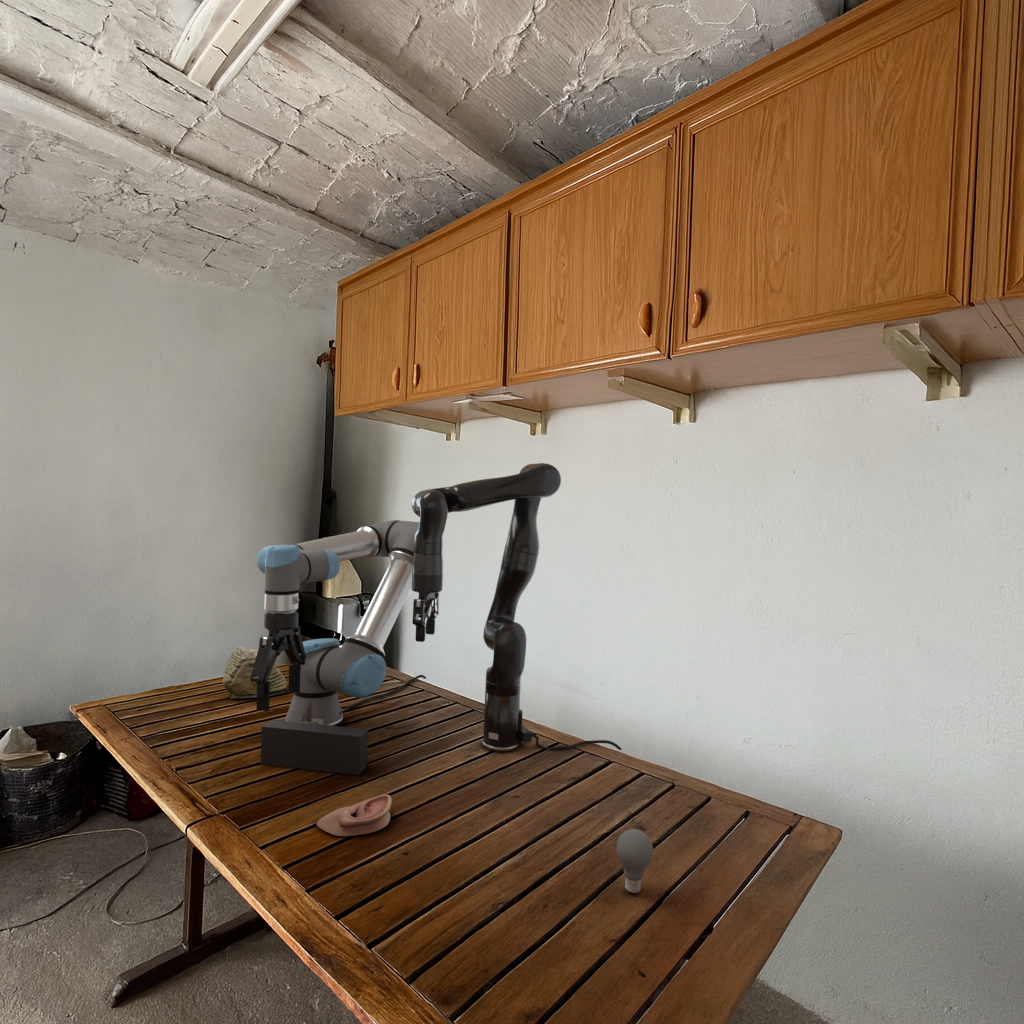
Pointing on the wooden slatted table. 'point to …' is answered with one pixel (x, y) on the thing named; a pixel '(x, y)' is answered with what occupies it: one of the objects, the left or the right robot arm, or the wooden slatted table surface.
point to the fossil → (248, 675)
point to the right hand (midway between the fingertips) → (425, 637)
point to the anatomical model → (358, 817)
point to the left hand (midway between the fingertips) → (279, 700)
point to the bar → (314, 747)
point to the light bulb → (634, 857)
